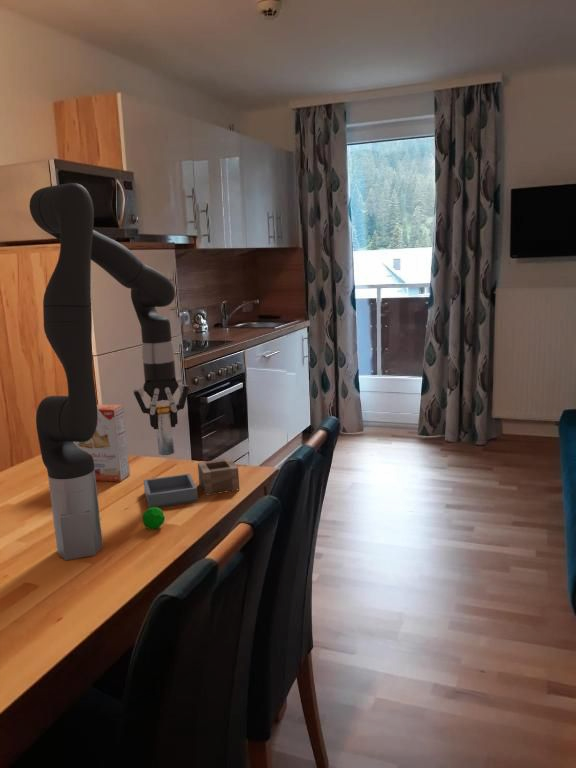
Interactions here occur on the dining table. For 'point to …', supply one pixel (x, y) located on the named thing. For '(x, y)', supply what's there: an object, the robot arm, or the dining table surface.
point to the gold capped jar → (164, 430)
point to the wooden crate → (218, 476)
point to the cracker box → (109, 444)
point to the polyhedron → (153, 518)
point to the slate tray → (170, 490)
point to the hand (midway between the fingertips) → (164, 427)
